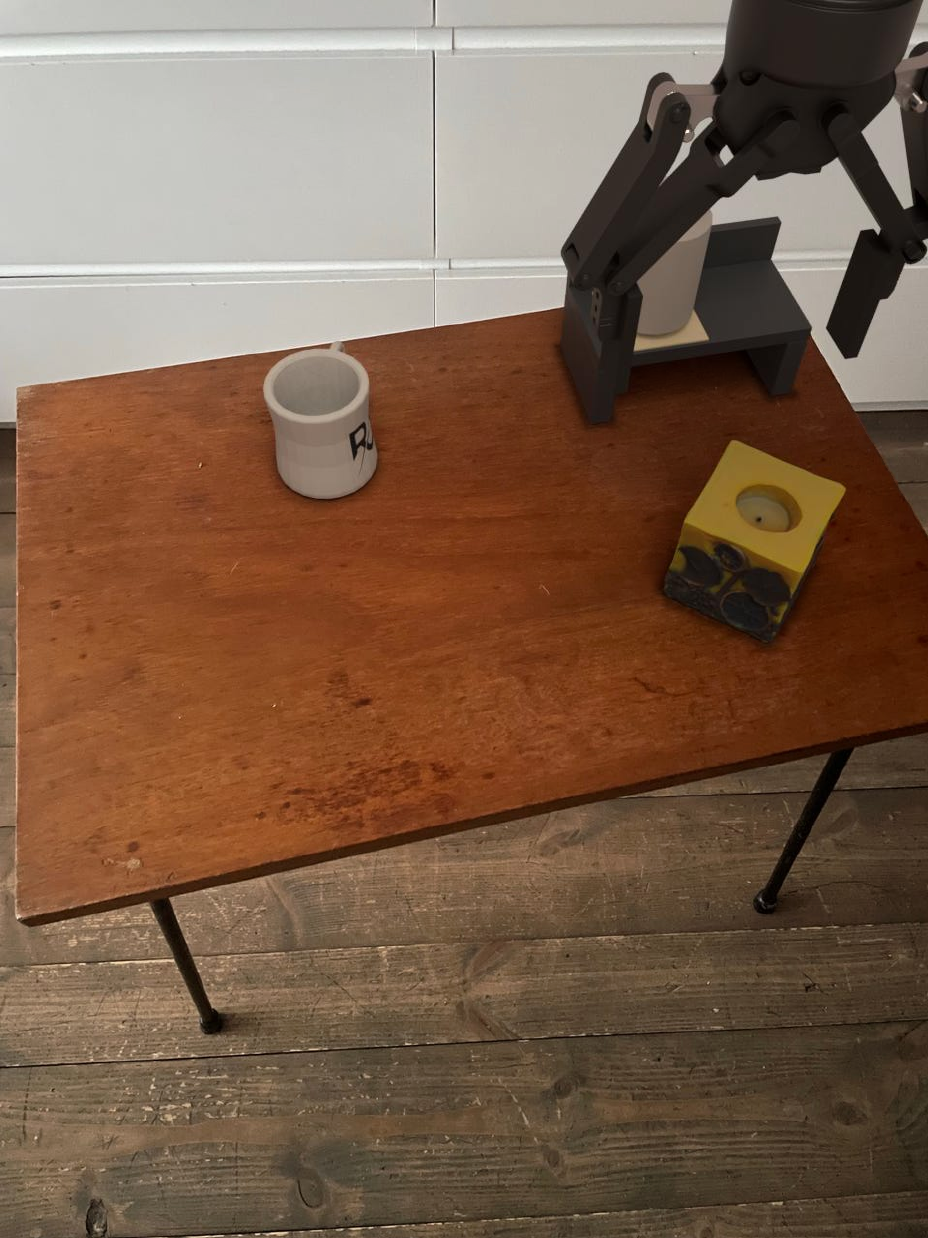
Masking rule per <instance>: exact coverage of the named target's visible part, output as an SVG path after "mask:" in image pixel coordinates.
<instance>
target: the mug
mask: <svg viewBox="0 0 928 1238" xmlns="http://www.w3.org/2000/svg"><path fill="white" fill-rule="evenodd" d="M345 347H346V346H345V344H344V343H343V342H342V341H340V340H335V341H333V342H332V343H331V345H330V347H329V348H313V349H304V350H301V351H300V350H299V351H297V352H294V353H291V354H288V355H287V356H286V357H284V358H282V359H280V360H279V361H278V362H276V364H275V365H274V366H272V367H271V368H270V369H269V371H268V373H267V375H266V376H265V378H264V381H263V384H262V385H263V386H262V392H263V399H264V402H265V404H266V407H267V410H268V413H269V415H270V418H271V421H272V424H273V429H274V435H275V457H276V466H277V472H278V474H279V476H280V477H281V479H282V481H283V482H284V484H285V485H286V486H288V488H290V489H291V490H292V491H293V492H296V493H297V494H299V495H301V496H304V497H308V498H313V499H318V500H319V499H320V500H323V499H324V500H330V499H336V498H342V497H344V496H347V495H350V494H352V493H355V492H356V491H358V490H360V489H361V488H362V487H364V486H365V485H366V484H367V483H368V482H369V481H370V479H372V477H373V475H374V473H375V471H376V469H377V463H378V456H379V455H378V451H377V447H376V442H375V438H374V437H375V436H374V434H373V430H372V424H371V417H370V410H369V407H370V388H371V387H370V385H371V382H370V379H369V373H368V372H367V370H366V369H365V367H364V365H363V364H362V363H361V362H360V361H358V360H357V359H356V358H355V357H353V356H351V355H349V354H347V353H346V348H345Z"/></svg>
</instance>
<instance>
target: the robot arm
mask: <svg viewBox="0 0 928 1238" xmlns="http://www.w3.org/2000/svg"><path fill="white" fill-rule="evenodd" d="M923 4H924V0H731V5H730V10H729V14H728V20H727V25H726V30H725V31H726V32H725V39H724V40H725V43H724V53H723V54H724V55H723V59H722V62H721V64H720V67H719V69H718V70H717V72H716V74H715V75H714V77H712V79H711V81H710V82H709V84H704V83H703V84H698V83H697V84H693V83H692V84H689V83H688V84H687V83H686V84H685V83H684V84H683V83H682V84H681V83H676V80H675V79H674V77H673V76H672V75H671V74H670V73H669V72H666V71H662V72H658V73H655V74H654V75H653V76H652V77H651V78H649V80H648V83H647V86H646V90H645V93H644V97H643V102H642V105H641V109H640V113H639V117H638V120H637V123H636V125H635V126H634V128H633V130H632V131H631V133H630V135H629V136H628V138H627V139H626V141H625V143H624V145H623V146H622V148H621V150H620V151H619V153H618V155H617V156H616V158H615V159H614V161H613V162H612V164H611V166H610V168H609V169H608V170H607V172H606V174H605V175H604V178H603V179H602V180H601V182H600V184H599V186H598V187H597V189H596V191H595V192H594V194H593V195H592V197H591V198H590V200H589V202H588V204H587V205H586V207H585V209H584V210H583V211H582V214H581V215H580V217H579V219H578V220H577V222H576V224H575V225H574V227H573V228H572V229H571V232H570V233H569V235H568V237H567V238H566V240H565V241H564V243H563V245H562V246H561V249H560V257H561V259H562V261H563V265H564V266H565V268H566V271H567V272H568V273H569V276H570V278H571V280H572V283H573V285H574V287H575V288H576V289H577V290H580V291H585V290H588V289H590V288H592V287H594V289H593V297H592V305H591V313H590V319H591V321H592V324H593V326H594V329H595V331H596V333H597V336H598V338H599V340H600V341H602V348H601V355H600V364H601V366H602V369H603V371H604V374H605V376H606V378H607V381H608V383H609V385H610V388H611V390H612V392H613V395H615V396H617V395H622V394H627V392H628V386H629V381H630V376H631V369H632V367H631V364H632V358H633V353H634V347H635V341H636V335H637V329H638V324H639V318H640V312H641V306H642V300H643V294H642V292H641V290H640V288H639V286H638V284H637V281H638V280H639V279H640V278H641V277H642V276H643V275H644V274H645V273H646V272H647V271H648V270H649V269H650V268H651V267H652V266H653V265H654V264H655V263H656V262H657V261H658V260H659V259H660V258H661V257H662V256H663V255H664V254H665V253H666V252H667V251H668V250H669V249H670V248H671V247H672V246H673V245H674V244H675V243H676V242H677V241H678V240H679V239H680V238H681V237H682V236H683V235H684V234H685V233H686V232H687V231H688V230H689V229H690V228H691V227H692V226H693V225H694V224H695V223H696V222H697V221H698V220H699V219H700V218H701V217H702V216H703V215H704V214H705V213H706V212H707V211H708V210H709V209H710V210H711V209H712V208H713V207H714V205H716V204H717V203H718V201H720V200H721V199H724V198H725V199H726V198H727V199H728V198H731V197H733V196H735V194H737V193H738V192H739V191H740V190H741V189H742V188H743V187H744V186H745V185H746V184H747V183H748V182H749V181H750V180H751V179H752V178H753V177H755V179H756V180H757V182H760V181H769V180H774V179H777V178H780V177H783V176H786V175H788V174H797V175H804V176H805V175H814V174H820V173H821V172H822V170H823V167H825V166H827V165H830V163H832V162H833V161H835V160H836V159H837V160H838V161H839V163H840V164H841V166H842V168H843V169H844V171H845V173H846V175H847V177H849V179H850V181H851V182H852V184H853V186H854V188H855V189H856V191H857V193H858V194H859V196H860V197H861V199H862V201H863V203H864V204H865V206H866V207H867V209H868V211H869V212H870V214H871V215H872V217H873V219H874V221H875V222H876V224H877V226H878V227H879V233H877V231H876V229H875V228H867V229H861V230H859V233H858V236H857V238H856V241H855V245H854V247H853V250H852V253H851V256H850V259H849V261H848V264H847V267H846V270H845V273H844V275H843V278H842V281H841V283H840V286H839V290H838V293H837V295H836V298H835V301H834V302H833V303H834V304H833V306H832V309H831V312H830V315H829V318H828V320H827V323H826V326H825V330H826V331H827V333H828V335H829V336H830V338H831V339H832V341H833V343H834V344H835V346H836V348H837V350H838V351H839V353H840V354H841V355H842V357H843V359H844V360H851V359H856V358H858V357H859V354H860V352H861V349H862V346H863V344H864V341H865V339H866V336H867V334H868V332H869V329H870V327H871V324H872V321H873V319H874V316H875V314H876V311H877V309H878V307H879V304H880V302H881V301H883V300H888V299H889V298H890V296H892V294H893V293H894V291H895V290H896V287H897V285H898V281H899V279H900V277H901V275H902V272H903V271H904V267H905V265H909V266H911V265H915V264H917V263H919V262H921V261H922V260H923V259H924V258H925V256H926V255H927V253H928V246H927V245H926V244H925V242H924V241H926V240H928V40H925V41H921V42H919V43H917V44H916V45H915V46H914V47H913V48H912V49H911V50H910V52H909V54H908V55H907V58H904V57H905V55H906V53H907V50H908V47H909V44H910V42H911V38H912V35H913V32H914V29H915V26H916V24H917V21H918V17H919V15H920V12H921V9H922V6H923ZM892 99H894V100H895V102H896V103H897V104H898V105H899V112H900V118H901V127H902V133H903V134H902V135H903V141H904V148H905V155H906V162H907V164H906V165H907V172H908V178H909V185H910V195H911V201H912V205H911V206H908V207H907V208H904V206H903V205H902V203H901V201H900V200H899V198H898V196H897V194H896V193H895V191H894V189H893V187H892V185H891V183H890V182H889V180H888V179H887V177H886V175H885V173H884V171H883V170H882V168H881V166H880V163H879V161H878V159H877V157H876V155H875V153H874V151H873V150H872V148H871V146H870V144H869V143H868V141H867V139H866V137H865V136H864V134H863V131H864V130H865V129H866V128H867V127H868V126H869V125H870V124H871V123H872V122H873V120H875V118H877V116H878V115H879V114H880V113H881V112H883V110H884V109H885V108H886V107H887V106H888V105H889V104H890V102H891V101H892ZM710 118H711V122H710V123H708V124H707V125H706V127H705V128H704V129H703V130H702V131H701V132H700V133H699V134H698V135H697V136H696V137H695V130H696V129H697V126H698V125H699V124H700V123H701V122H703V121H704V120H705V119H710ZM690 142H691V144H690V147H689V151H688V154H687V156H686V157H685V158H684V160H682V161H681V163H680V164H679V165H677V167H676V168H675V169H674V170H672V171H671V173H670V174H669V171H670V170H671V168H672V167H673V165H674V164H675V161H676V160H677V157H678V156H679V153H680V151H681V148H682V145H683V143H684V144H687V143H690ZM726 146H727V148H728V150H729V152H730V153H731V155H732V158H731V159H730V160H729V161H727V163H726V164H725V163H724V161H723V159H722V158H721V152H722V151H723V149H724V148H725V147H726ZM668 174H669V175H668ZM665 176H668V177H667V179H666V180H665V181H664V182H663V183H662V184H661V182H662V181H663V179H664V178H665ZM660 184H661V185H660ZM659 185H660V186H659Z"/></svg>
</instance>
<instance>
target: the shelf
mask: <svg viewBox="0 0 928 1238" xmlns="http://www.w3.org/2000/svg"><path fill="white" fill-rule="evenodd" d="M781 227H782V221H781V219H780V217H779V216H770V217H761V218H755V219H748V220H740V221H733V222H725V223H718V224H712V226H711V231H710V235H709V240H708V244H707V249H706V253H705V258H704V262H703V267H702V271H701V276H700V281H699V285H698V290H697V294H696V299H695V303H694V308H693V312H692V316H691V317H690V319H689V321H688V322H687V323H686V324H685V325H684V326H682V327H681V328H680V329H678V330H675V331H672V332H670V333H667V334H664V335H659V336H647V335H641V334H637V335H636V341H635V347H634V353H633V358H632V364H631V368H633V367H638V366H639V367H640V366H645V365H646V366H647V365H652V364H657V363H658V364H660V363H665V362H672V361H678V360H679V361H680V360H685V359H692V358H698V357H704V356H711V355H712V356H713V355H719V354H725V353H731V352H738V351H745V352H746V353H747V355H748V357H749V358H750V360H751V362H752V364H753V366H754V368H755V369H756V372H757V373H758V375H759V377H760V379H761V381H762V383H763V384H764V386H765V388H766V390H767V391H768V394H769V395H770V396H771V397H775V396H779V395H780V396H782V395H786V394H791V391H792V389H793V386H794V383H795V380H796V378H797V374H798V371H799V368H800V366H801V362H802V360H803V357H804V354H805V351H806V348H807V345H808V342H809V339H810V336H811V333H812V330H813V326H812V324H811V322H810V321H809V319H808V317H807V316H806V314H805V313H804V311H803V309H802V307H801V306H800V305H799V303H798V301H797V300H796V297H795V296H794V295H793V293H792V291H791V289H790V287H788V284H787V283H786V281H785V279H784V278H783V276H782V275H781V273H780V271H779V270H778V268H777V266H776V265H775V263H774V261H773V259H772V258H773V255H774V251H775V247H776V245H777V241H778V237H779V234H780V230H781ZM565 284H566V285H565V294H564V303H563V314H562V323H561V324H562V325H561V334H560V345H559V349H560V351H561V353H562V356H563V358H564V361H565V363H566V366H567V368H568V371H569V374H570V377H571V379H572V382H573V384H574V387H575V389H576V391H577V393H578V396H579V399H580V401H581V403H582V406H583V409H584V411H585V413H586V417H587V419H588V421H589V424H590V425H596V424H602V423H609V422H612V416H613V411H614V410H613V409H614V403H615V397H616V395H613V392H612V390H611V388H610V385H609V383H608V381H607V378H606V376H605V374H604V371H603V369H602V366H601V364H600V355H601V348H602V341H600V340H599V338H598V336H597V333H596V331H595V329H594V326H593V324H592V321H591V319H590V313H591V305H592V297H593V289H594V287H592V288H590V289H588V290H585V291H580V290H577V289H576V288H575V287H574V285H573V283H572V280H571V278H570V276H569V273H568V271H567V272H566V283H565Z"/></svg>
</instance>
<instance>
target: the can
mask: <svg viewBox="0 0 928 1238" xmlns="http://www.w3.org/2000/svg"><path fill="white" fill-rule="evenodd" d="M668 176H669V175H666V176H665V178H664V179H663V181H662V182H661V184H662V183H663V182H664V181H665V180H666V179H667V177H668ZM661 184H660V185H661ZM660 185H659V186H660ZM713 216H714V215H713V212H712V210H711V208H710V209H709V210H708V211H707V212H706V213H705V214H704V215H703V216H702V217H701V218H700V219H699V220H698V221H697V222H696V223H695V224H694V225H693V226H692V227H691V228H690V229H689V230H688V231H687V232H686V233H685V234H684V235H683V236H682V237H681V238H680V239H679V240H678V241H677V242H676V243H675V244H674V245H673V246H672V247H671V248H670V249H669V250H668V251H667V252H666V253H665V254H664V255H663V256H662V257H661V258H660V259H659V260H658V261H657V262H656V263H655V264H654V265H653V266H652V267H651V268H650V269H649V270H648V271H647V272H646V273H645V274H644V275H643V276H642V277H641V278H640V279H639V280H638V281H637V284H638V286H639V288H640V290H641V292H642V294H643V300H642V306H641V312H640V318H639V324H638V329H637V334H641V335H647V336H659V335H664V334H667V333H670V332H672V331H675V330H678V329H680V328H681V327H682V326H684V325H685V324H686V323H687V322H688V321H689V319H690V317H691V316H692V312H693V308H694V303H695V299H696V294H697V290H698V285H699V281H700V276H701V271H702V267H703V262H704V258H705V253H706V249H707V244H708V240H709V235H710V231H711V226H712V225H713Z"/></svg>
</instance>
